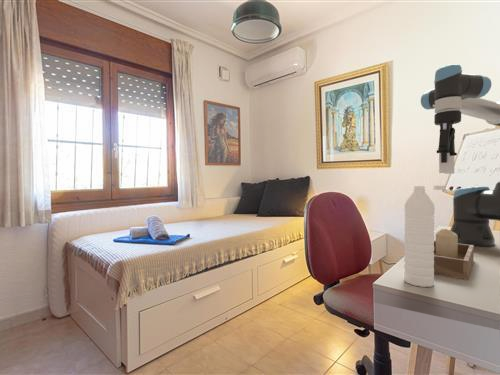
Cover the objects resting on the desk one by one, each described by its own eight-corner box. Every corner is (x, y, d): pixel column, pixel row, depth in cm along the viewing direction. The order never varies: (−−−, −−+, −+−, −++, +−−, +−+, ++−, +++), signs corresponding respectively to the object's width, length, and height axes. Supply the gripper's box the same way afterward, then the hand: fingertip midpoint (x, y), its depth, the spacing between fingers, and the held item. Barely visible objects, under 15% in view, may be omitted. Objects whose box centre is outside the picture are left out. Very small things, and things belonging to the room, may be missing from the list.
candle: (461, 265, 80) (461, 231, 80) (440, 264, 81) (440, 231, 81) (451, 259, 85) (451, 228, 85) (432, 258, 87) (432, 228, 86)
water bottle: (403, 284, 68) (403, 186, 68) (405, 276, 74) (405, 185, 73) (445, 291, 64) (446, 186, 63) (444, 282, 69) (444, 185, 68)
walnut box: (429, 254, 96) (429, 240, 96) (473, 260, 88) (473, 245, 88) (415, 270, 79) (415, 253, 79) (468, 280, 71) (468, 261, 71)
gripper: (440, 119, 105) (439, 174, 106) (428, 107, 87) (427, 172, 87) (464, 116, 100) (464, 173, 101) (457, 102, 82) (456, 172, 82)
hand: (447, 173), depth 94 cm, fingers open, 13 cm apart
